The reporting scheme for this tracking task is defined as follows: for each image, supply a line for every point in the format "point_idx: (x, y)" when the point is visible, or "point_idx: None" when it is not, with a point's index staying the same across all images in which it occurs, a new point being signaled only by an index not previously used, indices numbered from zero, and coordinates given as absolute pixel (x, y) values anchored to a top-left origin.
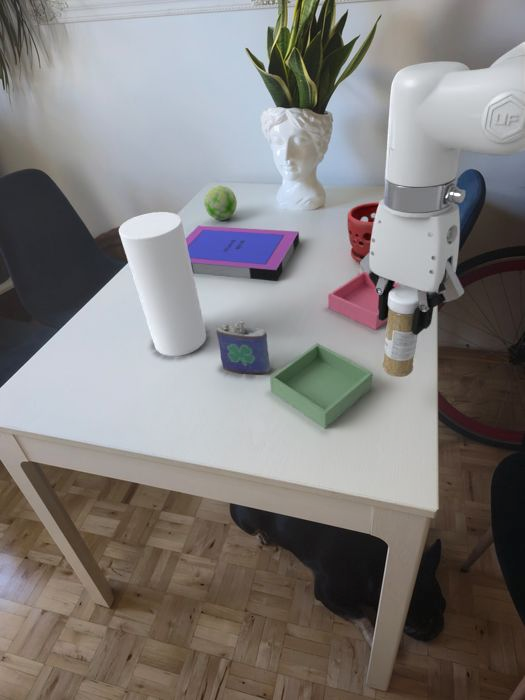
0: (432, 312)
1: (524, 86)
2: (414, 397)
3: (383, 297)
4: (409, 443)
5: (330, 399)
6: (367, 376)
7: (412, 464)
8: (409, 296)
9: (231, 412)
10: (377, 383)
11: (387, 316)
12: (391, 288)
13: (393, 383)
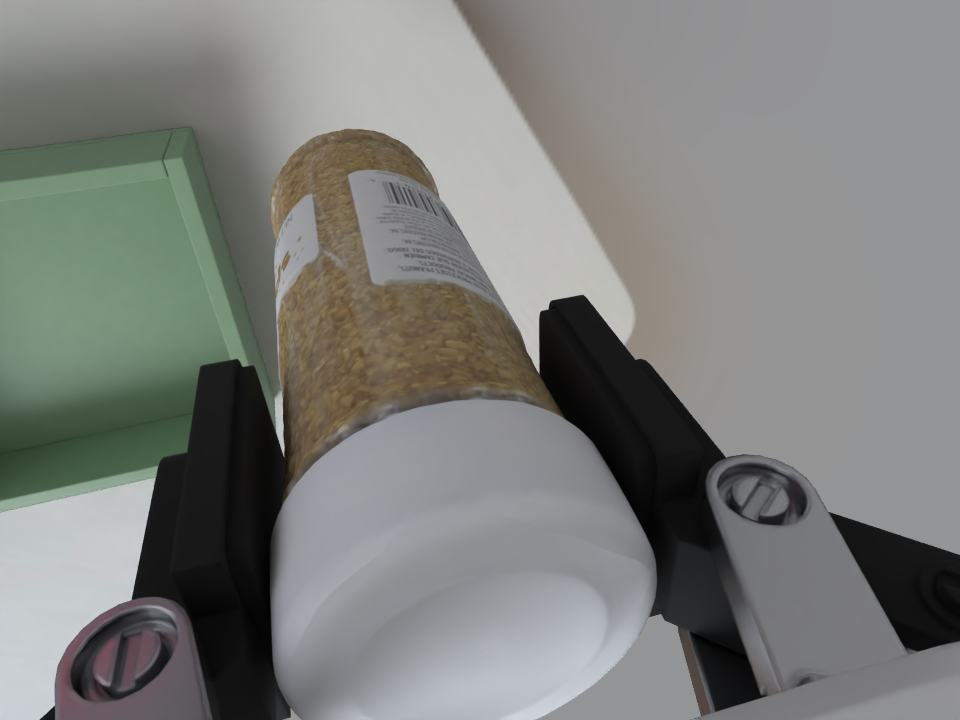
0: (699, 430)
1: None
2: (363, 14)
3: (288, 712)
4: (501, 229)
5: (163, 324)
6: (190, 198)
7: (551, 279)
8: (542, 654)
9: (22, 586)
10: (179, 76)
11: (280, 456)
12: (253, 679)
13: (226, 10)
